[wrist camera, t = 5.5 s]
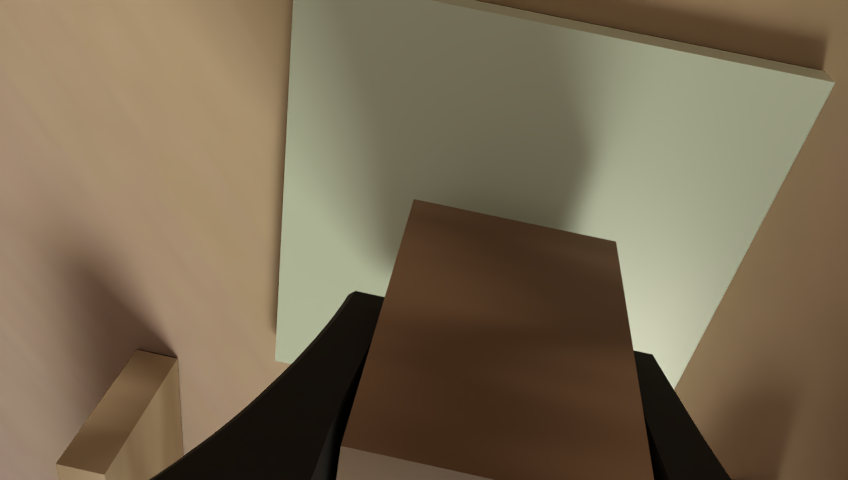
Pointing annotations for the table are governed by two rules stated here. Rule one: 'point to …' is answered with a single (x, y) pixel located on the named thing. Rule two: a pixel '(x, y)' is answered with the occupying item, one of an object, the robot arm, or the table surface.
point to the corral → (130, 425)
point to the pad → (529, 151)
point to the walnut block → (498, 359)
